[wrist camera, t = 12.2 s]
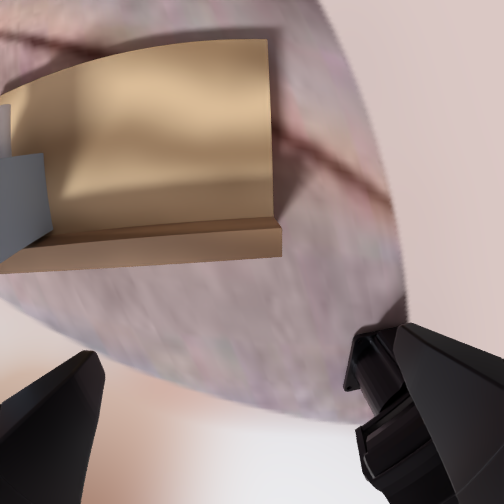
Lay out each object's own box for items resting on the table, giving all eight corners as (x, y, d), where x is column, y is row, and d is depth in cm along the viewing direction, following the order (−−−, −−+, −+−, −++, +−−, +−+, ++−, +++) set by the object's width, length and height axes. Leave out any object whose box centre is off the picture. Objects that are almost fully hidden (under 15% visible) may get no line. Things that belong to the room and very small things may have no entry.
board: (269, 234, 19) (282, 256, 15) (12, 254, 17) (-17, 274, 13) (263, 47, 15) (274, 22, 11) (-4, 104, 13) (-37, 103, 9)
